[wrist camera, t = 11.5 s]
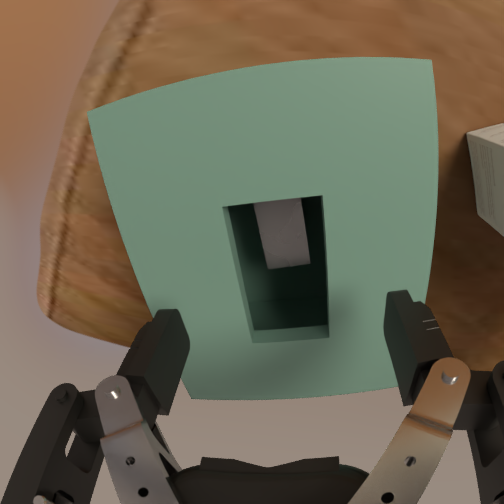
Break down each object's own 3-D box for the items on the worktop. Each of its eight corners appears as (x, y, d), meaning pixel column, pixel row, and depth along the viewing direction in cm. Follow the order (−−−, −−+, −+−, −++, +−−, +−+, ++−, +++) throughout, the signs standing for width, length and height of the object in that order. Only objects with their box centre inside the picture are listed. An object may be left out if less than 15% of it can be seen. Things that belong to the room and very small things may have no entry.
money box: (367, 71, 17) (431, 59, 9) (375, 294, 26) (404, 385, 17) (166, 99, 20) (86, 112, 11) (217, 308, 28) (191, 398, 19)
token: (294, 160, 20) (297, 179, 16) (305, 227, 22) (310, 263, 18) (257, 166, 21) (249, 187, 16) (271, 233, 23) (267, 269, 18)
